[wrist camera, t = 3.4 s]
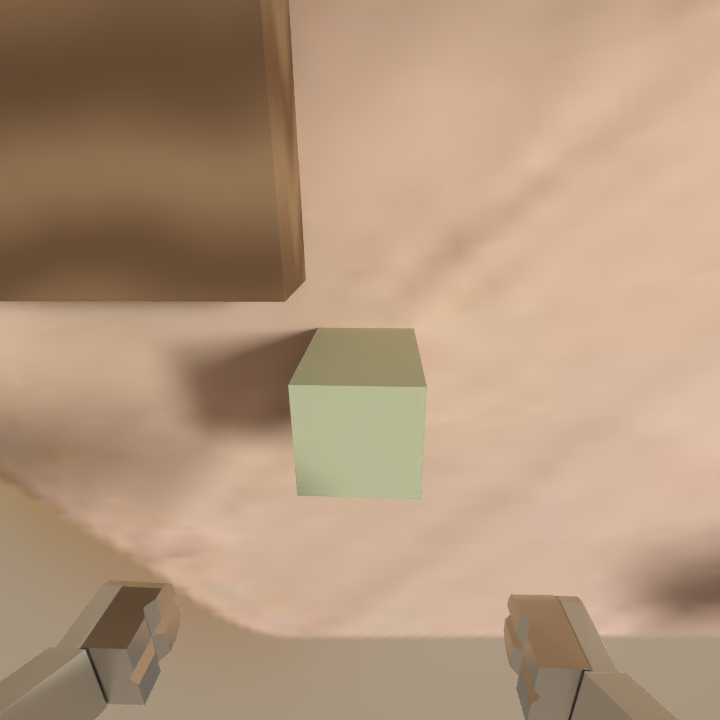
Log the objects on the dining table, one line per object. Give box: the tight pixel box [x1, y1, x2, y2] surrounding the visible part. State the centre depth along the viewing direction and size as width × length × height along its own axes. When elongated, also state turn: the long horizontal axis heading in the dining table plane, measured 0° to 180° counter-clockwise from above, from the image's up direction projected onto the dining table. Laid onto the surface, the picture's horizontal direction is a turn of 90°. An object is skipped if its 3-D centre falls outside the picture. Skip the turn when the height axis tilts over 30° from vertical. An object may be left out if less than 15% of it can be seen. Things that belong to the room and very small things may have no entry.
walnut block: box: [0, 0, 306, 302], centre depth 16 cm, size 16×16×5 cm
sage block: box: [288, 328, 427, 499], centre depth 19 cm, size 5×5×7 cm
